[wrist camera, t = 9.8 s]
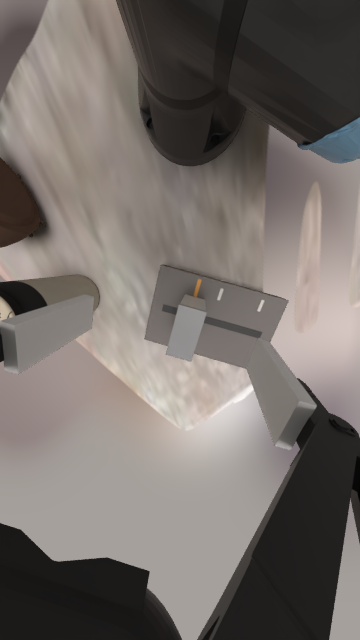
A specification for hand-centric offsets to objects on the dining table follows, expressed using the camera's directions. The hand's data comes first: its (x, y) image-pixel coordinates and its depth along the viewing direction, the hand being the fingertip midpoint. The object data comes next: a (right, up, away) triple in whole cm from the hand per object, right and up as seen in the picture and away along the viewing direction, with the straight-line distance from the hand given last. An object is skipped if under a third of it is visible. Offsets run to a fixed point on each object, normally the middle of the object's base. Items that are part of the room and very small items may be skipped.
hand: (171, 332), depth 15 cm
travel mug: (-19, +6, +24) cm, 31 cm away
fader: (+2, +2, +19) cm, 19 cm away
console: (+7, +2, +22) cm, 23 cm away
